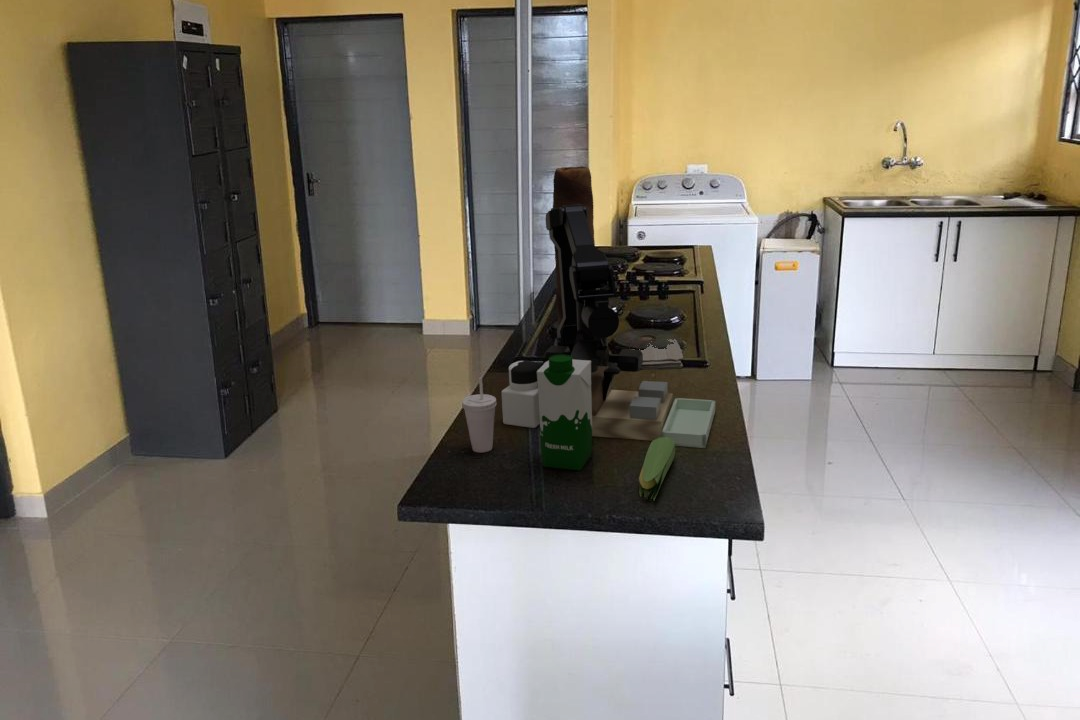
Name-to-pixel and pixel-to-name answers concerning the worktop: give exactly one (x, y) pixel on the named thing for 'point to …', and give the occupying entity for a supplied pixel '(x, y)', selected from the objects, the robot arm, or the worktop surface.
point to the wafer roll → (571, 190)
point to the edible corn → (656, 465)
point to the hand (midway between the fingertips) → (593, 399)
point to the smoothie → (480, 419)
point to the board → (628, 418)
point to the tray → (690, 422)
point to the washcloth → (662, 357)
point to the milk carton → (565, 412)
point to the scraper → (597, 389)
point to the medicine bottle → (521, 395)
